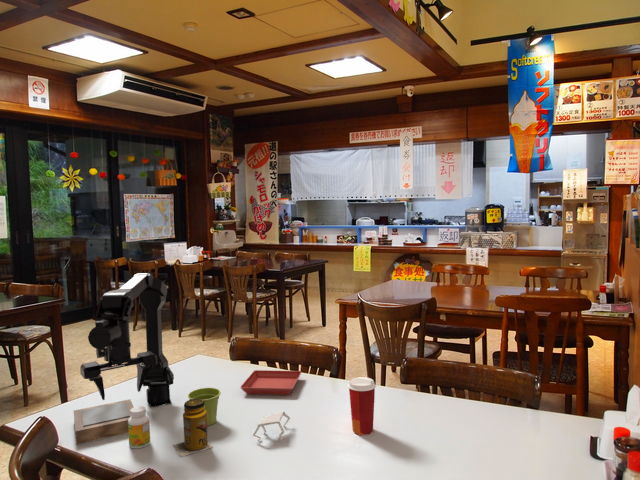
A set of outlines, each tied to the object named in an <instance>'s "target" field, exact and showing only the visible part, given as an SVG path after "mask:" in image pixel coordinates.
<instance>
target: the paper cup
mask: <svg viewBox="0 0 640 480" xmlns="http://www.w3.org/2000/svg"><path fill="white" fill-rule="evenodd" d="M346 387H348V391H349V392H348V393H349V401H350V402H349V403H350V415H351V425H352V426H351V427H352V432H353V433H354V434H356V435H359V436H368V435H371V434H372V433H374V431H373V430H374V419H375V417H374V415H375V414H374V413H375V396H376V395H375V393H376V391H375V390H376V387H377V385H376V383H375V381H374V379H372V378H370V377H365V376H359V377H354V378H351V379H350V380H349V381H348V384H347V386H346Z"/></svg>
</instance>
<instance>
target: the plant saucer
mask: <svg viewBox="0 0 640 480" xmlns="http://www.w3.org/2000/svg"><path fill="white" fill-rule="evenodd" d="M301 375H302V371H301V370H265V369H264V370H260V369H258V370H257V369H256V370H253V371H252V373H251V374H249V376H247V379H245V381H244V382H243V383H242V384H241V385H240V389H241V390H242V391H243V392H244V393H246V394H248V395H272V396H273V395H275V396H285V395H286V396H288V395H289V394H291V393H292V392H293V389H294V388H295V386H296V384H297V382H298V380H299V378H300V377H301Z"/></svg>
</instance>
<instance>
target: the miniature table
mask: <svg viewBox="0 0 640 480" xmlns="http://www.w3.org/2000/svg"><path fill="white" fill-rule="evenodd" d="M283 417H285V418H287V419H286V421H285V422H284V424H283V425H282V424H281V420H282V418H283ZM290 420H291V417H290V416H289V415H288V414H287V413H285V411H280V412H276V413H275V412H274V413H271V414H269V415H267V416H263V418H262V419H261V421H260V422H259V423H258V424H257V427H256V429H255V431H254V432H253V434H252V436H253V437H256V438H258V440H257V442H259V441H260V440H261V439H262V437H260V436H259V435H256V434H257V433H258V431H259V430H260V428H262V429H263V432H264V433H263V435H266V432H267V430H266V427H265V426H269V425H276V424H278V426H279V428H280V431H281V432H280V433H279V435H278V436H279V439H280V440H281V441H283V436H282V435H283V434H285V430H287V429H288V427H287V426H286V425H287V423H288V422H289V421H290Z"/></svg>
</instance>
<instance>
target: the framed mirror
mask: <svg viewBox="0 0 640 480" xmlns="http://www.w3.org/2000/svg"><path fill="white" fill-rule="evenodd" d="M134 407H135V406H134V404H133V402H132V399H125V400H120V401H115V402H110V403H109V402H108V403H105V404H101V405H95V406H89V407H86V408H80V409H76V410H73V420H74V421H73V423H74V424H73V425H74V431H75V433H74V434H75V442H76V443H75V445H76V446H77V445H80V444H85V443H89V442H94V441H99V440H102V439H107V438H111V437H115V436H119V435H125V434H128V419H129V418H130V417H131V416H130V410H131V409H132V408H134Z"/></svg>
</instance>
